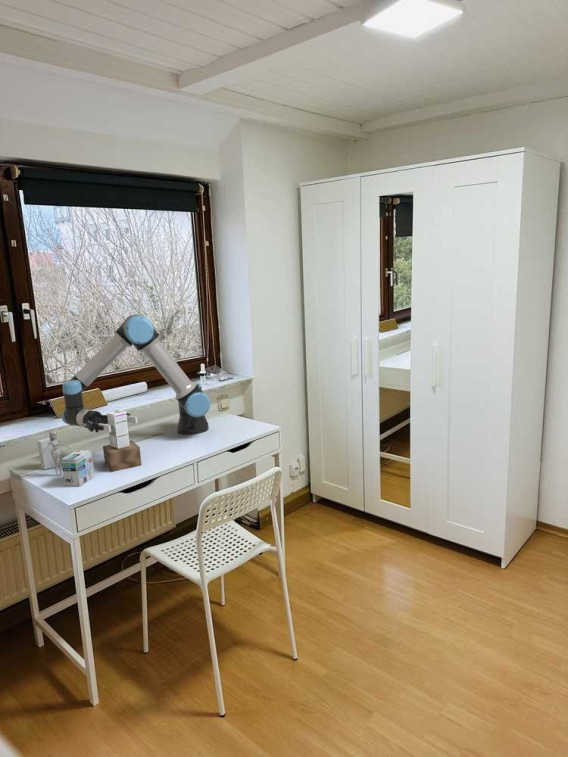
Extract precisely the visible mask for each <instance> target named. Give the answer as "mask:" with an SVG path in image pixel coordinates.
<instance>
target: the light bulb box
mask: <svg viewBox="0 0 568 757" xmlns="http://www.w3.org/2000/svg"><path fill="white" fill-rule="evenodd" d="M60 462H61V469H62V474H63V480H64V486H65V487H66V486H67V487H81V486H82V485H84V484H86V483H87V482H89V481H90V480H92V479H93V478H94V477H96V476H95V470H94V463H93V462H94V460H93V453H92V450H87V449H86V450H81V449H76V450H74V451H73V452H71V453H69V454H68V455H65V456H64V457H61V459H60Z"/></svg>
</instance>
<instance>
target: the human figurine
mask: <svg viewBox="0 0 568 757" xmlns="http://www.w3.org/2000/svg"><path fill="white" fill-rule="evenodd" d="M48 435H49V437H50V441H49V444H48V445H47V447H46V448H45V449H44V451H45V450H46V449H47V448H48V446H49V445H50V444H51V445H52V446H53V449H52V450H51V455H52V458H53V460H54V462H55V464H54V466H55V467H54V471H55V475H57V476H59V477H60V476H61V475H63V471H62V461H61V459H62V453H61V449H60V447H59V445H60V444H61V445H62V446H64V447H67V449H70V450H71V449H72V448H71V447H70V446H68V445H66V444H65V443H64V442H62V441H61V440H60V439H59V438H58V436H57V431H56V430H51V431H49V432H48ZM44 451H43V453H44ZM43 453H41V455H43ZM41 455H40V456H39V458H40V457H41ZM56 462H58V466H57V463H56ZM58 470H59V473H58ZM57 476H56V477H57ZM63 476H64V475H63Z"/></svg>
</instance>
